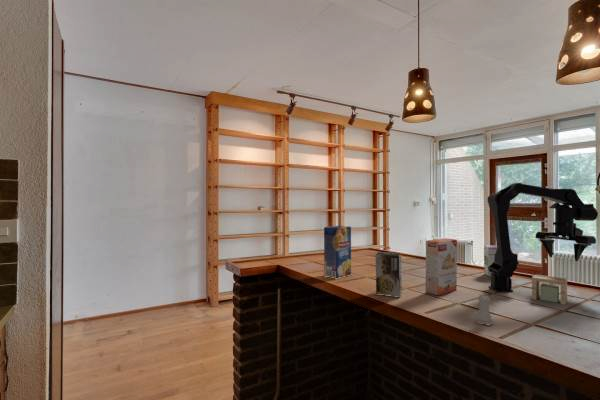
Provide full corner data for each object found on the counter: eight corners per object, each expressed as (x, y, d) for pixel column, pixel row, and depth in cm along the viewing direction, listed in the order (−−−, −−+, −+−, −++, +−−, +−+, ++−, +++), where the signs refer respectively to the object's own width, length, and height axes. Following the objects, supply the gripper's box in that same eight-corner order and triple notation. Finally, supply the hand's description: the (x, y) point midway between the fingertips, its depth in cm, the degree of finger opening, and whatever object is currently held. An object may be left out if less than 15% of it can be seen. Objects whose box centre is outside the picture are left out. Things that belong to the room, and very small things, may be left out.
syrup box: (501, 277, 152) (501, 246, 152) (488, 276, 153) (487, 246, 153) (496, 274, 157) (496, 245, 158) (483, 274, 159) (483, 244, 159)
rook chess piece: (472, 320, 97) (472, 294, 97) (486, 319, 98) (486, 293, 98) (482, 326, 93) (481, 298, 93) (496, 325, 93) (496, 298, 93)
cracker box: (439, 296, 122) (438, 241, 122) (424, 293, 127) (424, 240, 127) (458, 290, 130) (457, 239, 130) (443, 287, 135) (443, 237, 135)
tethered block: (557, 302, 114) (557, 285, 114) (540, 299, 118) (540, 283, 118) (561, 292, 126) (561, 277, 126) (545, 290, 129) (545, 275, 129)
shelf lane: (565, 304, 112) (564, 281, 112) (532, 299, 118) (532, 277, 118) (567, 298, 118) (566, 277, 118) (535, 293, 125) (535, 273, 125)
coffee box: (402, 293, 126) (401, 252, 126) (399, 298, 120) (399, 255, 120) (378, 291, 129) (378, 251, 130) (375, 295, 124) (375, 253, 124)
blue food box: (336, 279, 149) (336, 228, 149) (324, 277, 154) (323, 227, 154) (351, 275, 157) (351, 226, 158) (338, 273, 163) (338, 225, 163)
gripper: (605, 221, 122) (604, 262, 122) (552, 218, 140) (551, 254, 140) (587, 221, 119) (586, 263, 119) (535, 218, 136) (534, 255, 136)
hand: (563, 259), depth 128 cm, fingers open, 9 cm apart
